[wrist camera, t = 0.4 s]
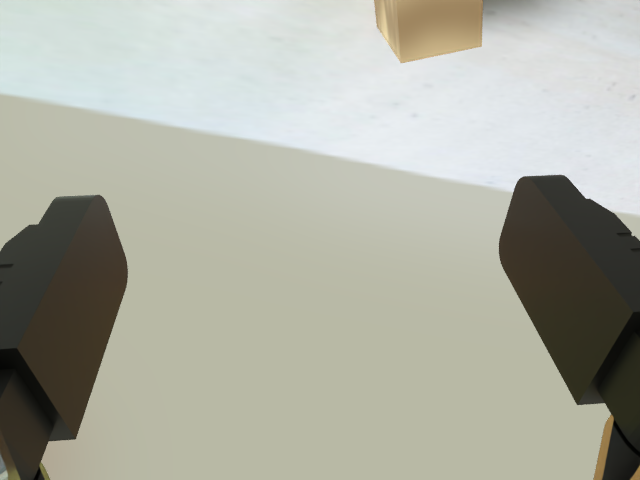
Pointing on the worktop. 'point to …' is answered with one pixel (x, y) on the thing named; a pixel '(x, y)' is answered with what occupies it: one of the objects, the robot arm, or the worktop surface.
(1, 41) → the worktop surface
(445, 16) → the oak block
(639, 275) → the robot arm
